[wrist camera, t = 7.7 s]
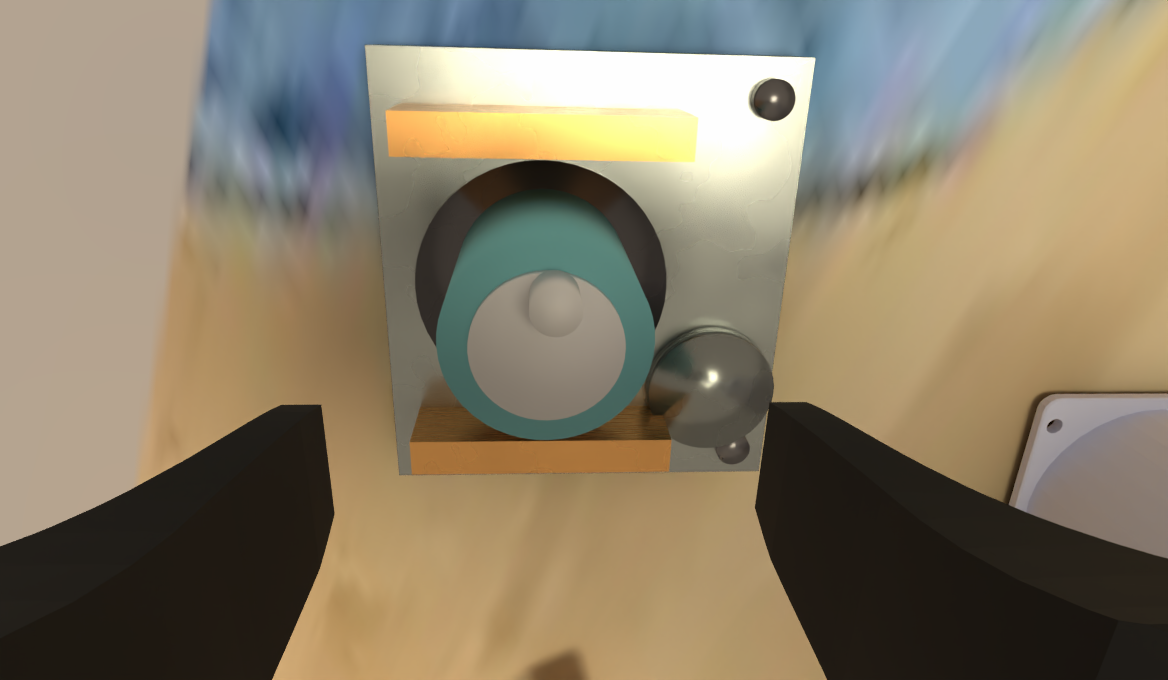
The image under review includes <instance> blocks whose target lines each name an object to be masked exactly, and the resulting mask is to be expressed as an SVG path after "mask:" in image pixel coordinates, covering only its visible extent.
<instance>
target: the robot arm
mask: <svg viewBox="0 0 1168 680" xmlns="http://www.w3.org/2000/svg"><path fill="white" fill-rule="evenodd" d="M1052 420H1054V422H1053V424H1052V425H1050V426H1049V427H1047V425H1048V423H1049V422H1051V421H1052ZM755 509H756V512H757V516H758V519H759V523H760V526H761V530H762V533H763V537H764V540H765V543H766V546H767V549H768V552H769V555H770V558H771V561H772V563H773V565H774V568H775V570H776V572H777V574H778V576H779V579H780V581H781V583H782V585H783V587H784V589H785V591H786V594H787V596H788V598H789V600H790V602H791V604H792V606H793V608H794V611H795V613H796V615H797V617H798V619H799V621H800V623H801V625H802V627H803V629H804V631H805V634H806V636H807V638H808V640H809V642H810V644H811V646H812V648H813V650H814V653H815V655H816V657H817V659H818V661H819V663H820V665H821V667H822V669H823V671H824V674H825V676H826V678H827V680H1168V394H1053V395H1049V396H1047V397H1046V398H1044V399H1043V400H1042V401H1041V402H1040V403H1039V405H1038V407H1037V410H1036V414H1035V417H1034V421H1033V424H1032V427H1031V431H1030V434H1029V438H1028V441H1027V444H1026V448H1025V451H1024V455H1023V458H1022V461H1021V465H1020V468H1019V472H1018V475H1017V478H1016V482H1015V485H1014V488H1013V492H1012V495H1011V499H1010V502H1009V505H1008V504H1005V503H1003V502H1000V501H998V500H995V499H993V498H991V497H988V496H986V495H984V494H981V493H979V492H977V491H975V490H973V489H970V488H968V487H966V486H964V485H962V484H960V483H958V482H956V481H954V480H952V479H950V478H948V477H946V476H944V475H942V474H940V473H938V472H936V471H934V470H932V469H930V468H928V467H926V466H924V465H922V464H920V463H918V462H916V461H915V460H913V459H911V458H909V457H907V456H905V455H903V454H902V453H900V452H898V451H896V450H894V449H893V448H891V447H889V446H887V445H885V444H884V443H882V442H880V441H878V440H877V439H875V438H873V437H871V436H870V435H868V434H866V433H864V432H863V431H861V430H859V429H857V428H855V427H854V426H852V425H850V424H848V423H847V422H845V421H843V420H841V419H840V418H838V417H836V416H834V415H832V414H830V413H828V412H827V411H825V410H823V409H821V408H818V407H816V406H814V405H812V404H809V403H807V402H770V403H769V410H768V418H767V425H766V432H765V439H764V447H763V454H762V461H761V468H760V476H759V483H758V490H757V497H756V504H755ZM333 518H334V506H333V498H332V489H331V481H330V473H329V465H328V457H327V448H326V440H325V432H324V424H323V416H322V408H321V405H280V406H278V407H276V408H274V409H272V410H270V411H268V412H266V413H264V414H262V415H260V416H259V417H257V418H255V419H253V420H252V421H250V422H248V423H247V424H245V425H243V426H241V427H240V428H238V429H237V430H235V431H233V432H232V433H230V434H228V435H227V436H225V437H223V438H221V439H220V440H218V441H216V442H215V443H213V444H211V445H210V446H208V447H206V448H205V449H203V450H201V451H200V452H198V453H196V454H195V455H193V456H191V457H190V458H188V459H186V460H184V461H183V462H181V463H179V464H177V465H175V466H173V467H172V468H170V469H168V470H166V471H164V472H162V473H161V474H159V475H157V476H155V477H153V478H151V479H149V480H148V481H146V482H144V483H142V484H140V485H138V486H137V487H135V488H133V489H131V490H129V491H127V492H125V493H123V494H121V495H119V496H117V497H115V498H113V499H111V500H109V501H107V502H105V503H103V504H101V505H99V506H97V507H95V508H93V509H91V510H88V511H86V512H84V513H81V514H79V515H77V516H75V517H72V518H70V519H68V520H66V521H63V522H61V523H59V524H57V525H55V526H52V527H50V528H47V529H45V530H42V531H40V532H38V533H35V534H33V535H30V536H27V537H24V538H22V539H19V540H16V541H14V542H11V543H8V544H6V545H3V546H0V680H272V678H273V676H274V674H275V671H276V669H277V667H278V665H279V662H280V660H281V658H282V655H283V653H284V651H285V649H286V646H287V644H288V642H289V639H290V637H291V635H292V633H293V630H294V628H295V626H296V623H297V621H298V619H299V616H300V614H301V612H302V610H303V607H304V605H305V602H306V600H307V598H308V595H309V593H310V591H311V588H312V586H313V584H314V581H315V579H316V576H317V574H318V572H319V569H320V566H321V563H322V559H323V556H324V552H325V549H326V545H327V541H328V537H329V533H330V529H331V526H332V522H333Z"/></svg>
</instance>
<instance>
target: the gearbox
mask: <svg viewBox="0 0 1168 680" xmlns="http://www.w3.org/2000/svg"><path fill="white" fill-rule="evenodd" d="M365 51H366V64H367V77H368V89H369V102H370V114H371V127H372V139H373V152H374V164H375V177H376V189H377V202H378V214H379V227H380V239H381V252H382V265H383V277H384V290H385V302H386V315H387V327H388V340H389V352H390V365H391V377H392V390H393V402H394V415H395V427H396V440H397V453H398V465H399V475H461V474H547V473H633V472H719V471H759V463H760V456H761V449H762V442H763V434H764V427H765V420H766V413H767V411H768V409H769V403H770V402H771V401H772V397H773V389H774V383H773V376H772V369H773V362H774V354H775V347H776V340H777V333H778V325H779V318H780V311H781V304H782V296H783V289H784V282H785V274H786V267H787V260H788V253H789V245H790V238H791V231H792V224H793V216H794V209H795V202H796V195H797V187H798V180H799V173H800V165H801V158H802V151H803V144H804V136H805V129H806V122H807V115H808V107H809V100H810V93H811V86H812V78H813V71H814V64H815V58H811V57H798V56H766V55H731V54H696V53H661V52H626V51H591V50H556V49H521V48H486V47H451V46H416V45H381V44H375V45H365ZM532 189H552V190H558V191H563V192H567V193H570V194H573V195H575V196H577V197H579V198H582V199H584V200H586V201H587V202H589V203H590V204H591V205H593V206H594V207H596V208H597V209H598V210H599V211H600V212H601V213H602V214H603V215H604V216H605V217H606V218H607V219H608V220H609V221H610V223H611V224H612V226H613V227H614V229H615V230H616V232H617V234H618V236H619V239H620V241H621V243H622V245H623V247H624V250H625V252H626V254H627V256H628V259H629V261H630V263H631V265H632V267H633V270H634V272H635V274H636V276H637V279H638V281H639V283H640V285H641V288H642V290H643V292H644V294H645V297H646V299H647V301H648V303H649V306H650V309H651V313H652V316H653V321H654V327H655V348H654V356H653V360H652V364H651V367H650V370H649V373H648V375H647V377H646V380H645V382H644V383H643V385H642V387H641V389H640V390H639V392H638V393H637V395H636V396H635V397H634V399H633V400H632V401H631V402H630V403H629V404H628V405H627V406H626V407H625V408H624V409H623V410H622V411H621V412H620V413H619V414H618V415H616V416H615V417H614V418H613V419H611V420H610V421H608V422H606V423H605V424H603V425H601V426H600V427H598V428H596V429H593V430H591V431H589V432H587V433H583V434H580V435H577V436H574V437H569V438H564V439H556V440H533V439H526V438H520V437H516V436H512V435H509V434H506V433H503V432H501V431H498V430H496V429H494V428H492V427H490V426H488V425H487V424H485V423H483V422H482V421H480V420H479V419H477V418H476V417H475V416H473V415H472V414H471V413H470V412H469V411H468V410H467V409H466V408H464V407H463V406H462V404H461V403H460V402H459V401H458V400H457V398H456V397H455V396H454V394H453V393H452V391H451V390H450V388H449V386H448V385H447V383H446V381H445V378H444V376H443V374H442V371H441V368H440V364H439V361H438V355H437V348H436V331H437V325H438V319H439V315H440V312H441V309H442V305H443V302H444V299H445V296H446V293H447V290H448V287H449V284H450V281H451V278H452V275H453V272H454V268H455V265H456V262H457V259H458V256H459V253H460V250H461V247H462V244H463V241H464V239H465V237H466V235H467V232H468V231H469V229H470V228H471V226H472V224H473V223H474V222H475V221H476V219H477V218H478V217H479V216H480V215H481V214H482V213H483V212H484V211H485V210H486V209H487V208H488V207H490V206H491V205H493V204H494V203H496V202H497V201H499V200H501V199H503V198H505V197H507V196H509V195H512V194H515V193H517V192H521V191H526V190H532Z"/></svg>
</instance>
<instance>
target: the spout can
mask: <svg viewBox="0 0 1168 680" xmlns="http://www.w3.org/2000/svg"><path fill="white" fill-rule="evenodd" d="M436 348H437V355H438V361H439V364H440V368H441V371H442V374H443V376H444V378H445V381H446V383H447V385H448V386H449V388H450V390H451V391H452V393H453V394H454V396H455V397H456V398H457V400H458V401H459V402H460V403H461V404H462V406H463V407H464V408H466V409H467V410H468V411H469V412H470V413H471V414H472V415H473V416H475V417H476V418H477V419H479V420H480V421H482V422H483V423H485V424H487V425H488V426H490V427H492V428H494V429H496V430H498V431H501V432H503V433H506V434H509V435H512V436H516V437H520V438H526V439H533V440H556V439H564V438H569V437H574V436H577V435H580V434H583V433H587V432H589V431H591V430H593V429H596V428H598V427H600V426H601V425H603V424H605V423H606V422H608V421H610V420H611V419H613V418H614V417H615V416H616V415H618V414H619V413H620V412H621V411H622V410H623V409H624V408H625V407H626V406H627V405H628V404H629V403H630V402H631V401H632V400H633V399H634V397H635V396H636V395H637V393H638V392H639V390H640V389H641V387H642V385H643V383H644V382H645V380H646V377H647V375H648V373H649V370H650V367H651V364H652V360H653V356H654V348H655V327H654V321H653V316H652V313H651V309H650V306H649V303H648V301H647V299H646V297H645V294H644V292H643V290H642V288H641V285H640V283H639V281H638V279H637V276H636V274H635V272H634V270H633V267H632V265H631V263H630V261H629V259H628V256H627V254H626V252H625V250H624V247H623V245H622V243H621V241H620V239H619V236H618V234H617V232H616V230H615V229H614V227H613V226H612V224H611V223H610V221H609V220H608V219H607V218H606V217H605V216H604V215H603V214H602V213H601V212H600V211H599V210H598V209H597V208H596V207H594V206H593V205H591V204H590V203H589V202H587V201H586V200H584V199H582V198H579V197H577V196H575V195H573V194H570V193H567V192H563V191H558V190H552V189H532V190H526V191H521V192H517V193H515V194H512V195H509V196H507V197H505V198H503V199H501V200H499V201H497V202H496V203H494V204H493V205H491V206H490V207H488V208H487V209H486V210H485V211H484V212H483V213H482V214H481V215H480V216H479V217H478V218H477V219H476V221H475V222H474V223H473V224H472V226H471V228H470V229H469V231H468V232H467V235H466V237H465V239H464V241H463V244H462V247H461V250H460V253H459V256H458V259H457V262H456V265H455V268H454V272H453V275H452V278H451V281H450V284H449V287H448V290H447V293H446V296H445V299H444V302H443V305H442V309H441V312H440V315H439V319H438V325H437V331H436Z"/></svg>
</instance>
